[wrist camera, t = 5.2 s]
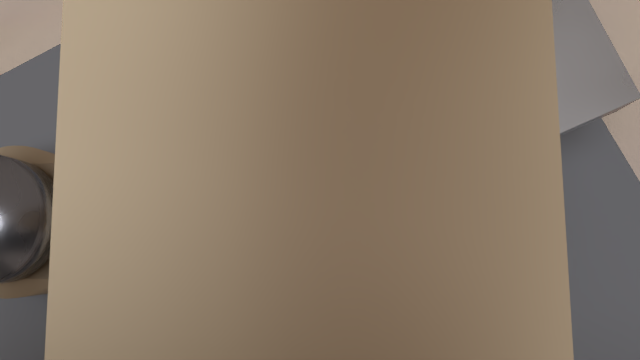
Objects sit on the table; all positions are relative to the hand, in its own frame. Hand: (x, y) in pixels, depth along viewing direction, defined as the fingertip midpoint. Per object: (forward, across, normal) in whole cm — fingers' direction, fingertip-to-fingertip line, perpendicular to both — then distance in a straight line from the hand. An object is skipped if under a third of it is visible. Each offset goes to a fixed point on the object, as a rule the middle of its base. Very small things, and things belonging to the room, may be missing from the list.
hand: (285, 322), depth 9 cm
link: (+5, +2, +3) cm, 6 cm away
